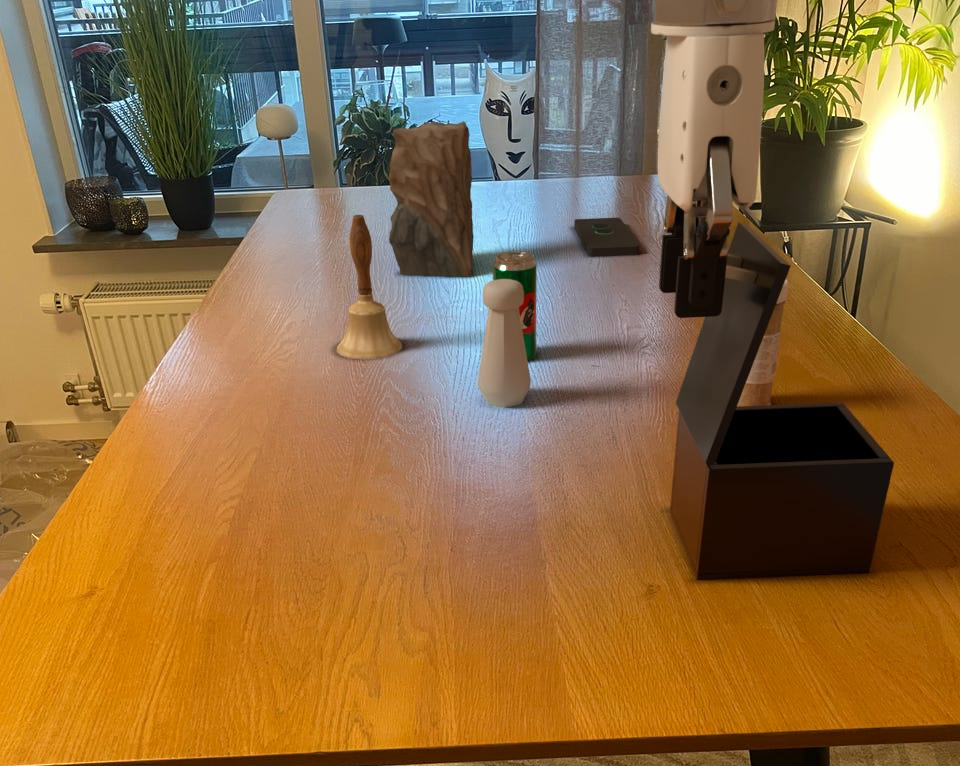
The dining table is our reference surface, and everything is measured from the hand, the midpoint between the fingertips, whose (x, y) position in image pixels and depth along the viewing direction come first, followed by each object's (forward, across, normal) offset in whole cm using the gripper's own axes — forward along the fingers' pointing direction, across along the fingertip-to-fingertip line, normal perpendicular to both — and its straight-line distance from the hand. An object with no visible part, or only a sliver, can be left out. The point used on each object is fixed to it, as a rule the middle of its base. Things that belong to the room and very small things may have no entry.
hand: (689, 300), depth 72 cm
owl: (+21, +87, +19) cm, 91 cm away
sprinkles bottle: (+21, +29, -14) cm, 38 cm away
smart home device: (+21, +101, -8) cm, 103 cm away
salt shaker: (+21, +33, +12) cm, 41 cm away
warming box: (+20, 0, -8) cm, 22 cm away
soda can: (+21, +47, +10) cm, 52 cm away
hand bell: (+20, +52, +28) cm, 62 cm away
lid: (+3, 0, -3) cm, 5 cm away
